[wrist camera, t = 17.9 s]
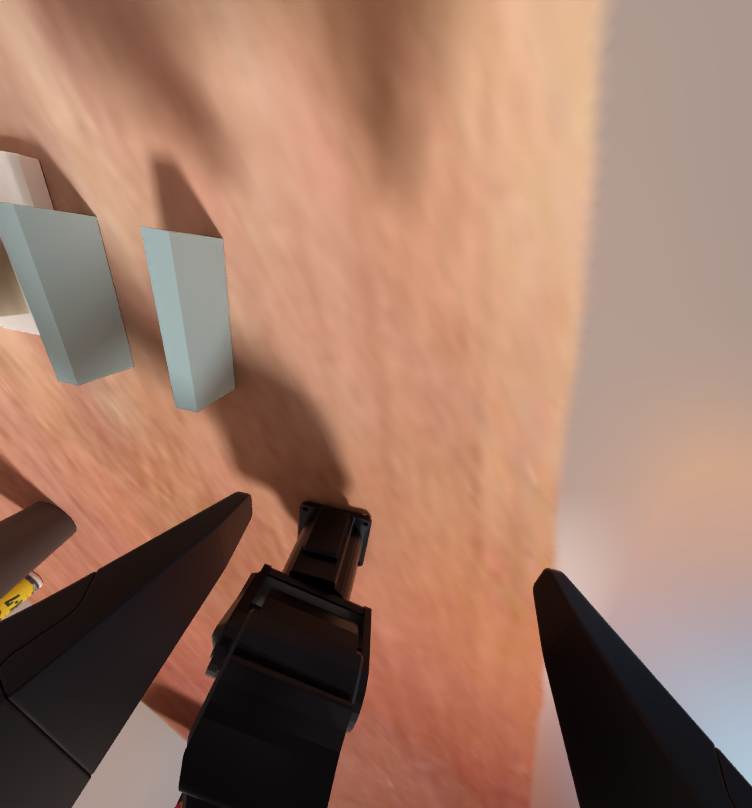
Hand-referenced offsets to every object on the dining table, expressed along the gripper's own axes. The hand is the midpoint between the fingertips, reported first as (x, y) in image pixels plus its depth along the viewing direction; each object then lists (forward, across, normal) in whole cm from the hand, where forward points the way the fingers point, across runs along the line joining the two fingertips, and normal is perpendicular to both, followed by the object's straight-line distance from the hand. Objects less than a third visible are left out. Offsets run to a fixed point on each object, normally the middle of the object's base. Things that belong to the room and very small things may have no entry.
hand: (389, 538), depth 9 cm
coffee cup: (+12, +38, +26) cm, 48 cm away
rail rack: (+12, +18, -2) cm, 22 cm away
